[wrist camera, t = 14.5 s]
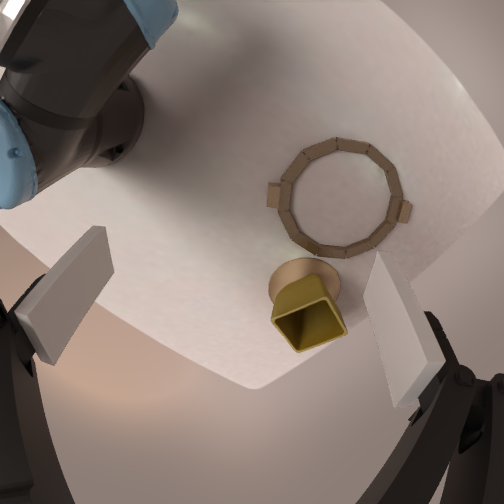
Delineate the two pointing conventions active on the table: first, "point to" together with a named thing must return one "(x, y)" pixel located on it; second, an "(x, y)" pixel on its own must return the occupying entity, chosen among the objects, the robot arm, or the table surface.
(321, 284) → the flower pot
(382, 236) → the socket ring
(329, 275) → the coaster
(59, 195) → the table surface
